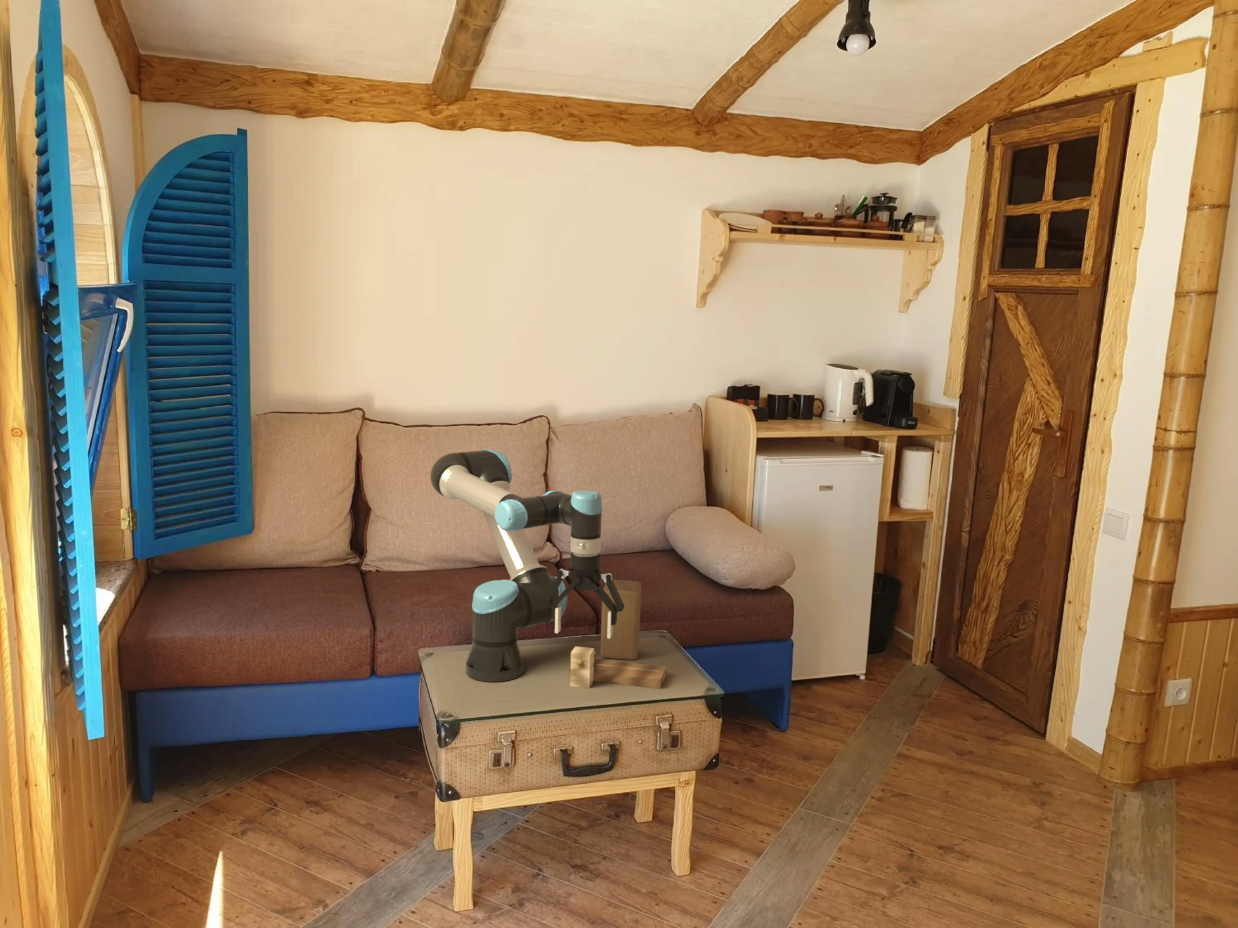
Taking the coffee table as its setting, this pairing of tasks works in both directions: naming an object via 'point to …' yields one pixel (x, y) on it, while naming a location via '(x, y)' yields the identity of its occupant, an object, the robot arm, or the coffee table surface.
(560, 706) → the coffee table surface
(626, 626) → the wooden block
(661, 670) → the board
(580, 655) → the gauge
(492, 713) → the coffee table surface
